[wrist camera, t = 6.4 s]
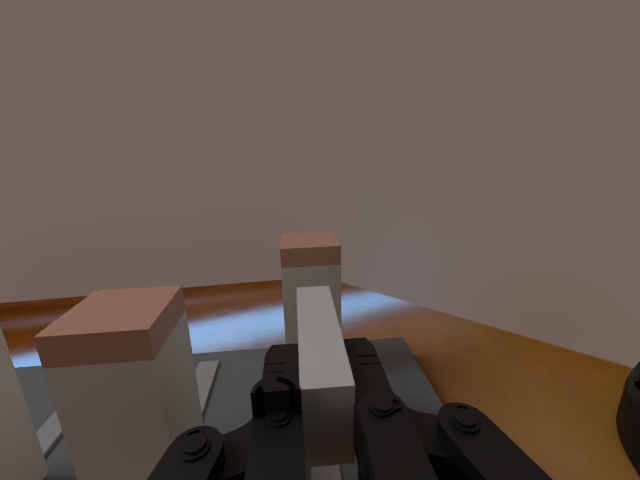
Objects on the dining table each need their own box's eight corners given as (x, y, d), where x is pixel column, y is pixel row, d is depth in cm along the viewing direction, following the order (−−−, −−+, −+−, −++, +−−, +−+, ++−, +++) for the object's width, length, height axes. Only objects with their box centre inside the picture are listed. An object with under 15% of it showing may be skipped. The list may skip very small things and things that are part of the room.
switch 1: (207, 454, 14) (181, 285, 12) (188, 533, 11) (148, 329, 9) (136, 462, 14) (96, 290, 12) (96, 544, 11) (33, 337, 9)
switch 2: (334, 349, 21) (332, 230, 19) (341, 381, 18) (340, 245, 16) (288, 352, 21) (281, 233, 19) (288, 385, 18) (280, 248, 16)
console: (401, 355, 23) (402, 334, 23) (556, 639, 10) (566, 602, 9) (11, 388, 21) (3, 366, 21) (-472, 810, 8) (-527, 774, 7)
